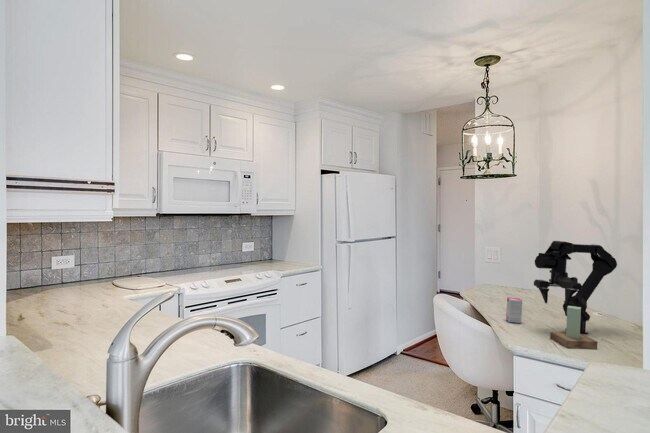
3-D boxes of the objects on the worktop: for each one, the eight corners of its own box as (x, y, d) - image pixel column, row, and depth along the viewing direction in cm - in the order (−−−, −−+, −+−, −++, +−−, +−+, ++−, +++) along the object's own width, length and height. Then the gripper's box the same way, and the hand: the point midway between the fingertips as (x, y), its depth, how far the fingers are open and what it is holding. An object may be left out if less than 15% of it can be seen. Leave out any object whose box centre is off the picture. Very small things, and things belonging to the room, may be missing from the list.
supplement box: (521, 324, 194) (522, 300, 194) (508, 323, 195) (509, 299, 195) (518, 320, 200) (519, 297, 200) (505, 320, 201) (506, 297, 201)
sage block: (567, 334, 170) (568, 305, 169) (579, 336, 167) (580, 307, 167) (566, 336, 166) (567, 307, 166) (579, 339, 163) (580, 309, 163)
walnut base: (578, 339, 173) (578, 332, 172) (597, 349, 161) (597, 341, 160) (550, 338, 173) (550, 331, 173) (566, 348, 161) (567, 340, 161)
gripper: (547, 270, 173) (545, 306, 173) (591, 273, 173) (588, 309, 173) (534, 266, 184) (531, 301, 184) (575, 269, 184) (573, 303, 184)
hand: (556, 303), depth 181 cm, fingers open, 9 cm apart
